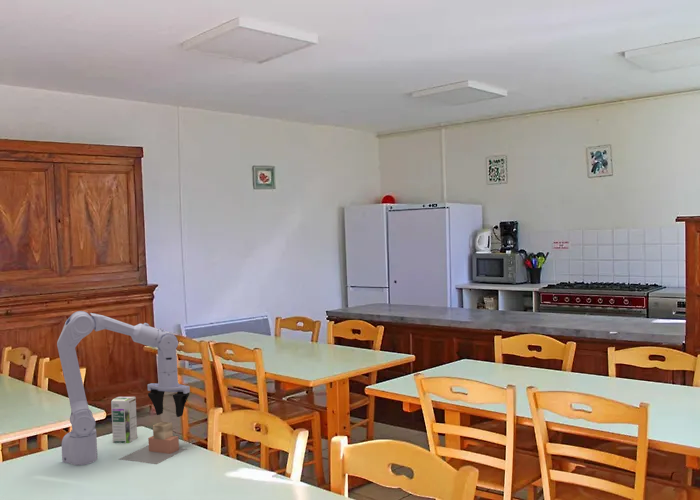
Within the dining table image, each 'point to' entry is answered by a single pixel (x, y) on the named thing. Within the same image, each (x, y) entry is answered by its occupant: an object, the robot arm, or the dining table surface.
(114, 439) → the syrup box
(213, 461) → the dining table surface
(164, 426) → the beech cube
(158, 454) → the building plate
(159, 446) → the terracotta brick
